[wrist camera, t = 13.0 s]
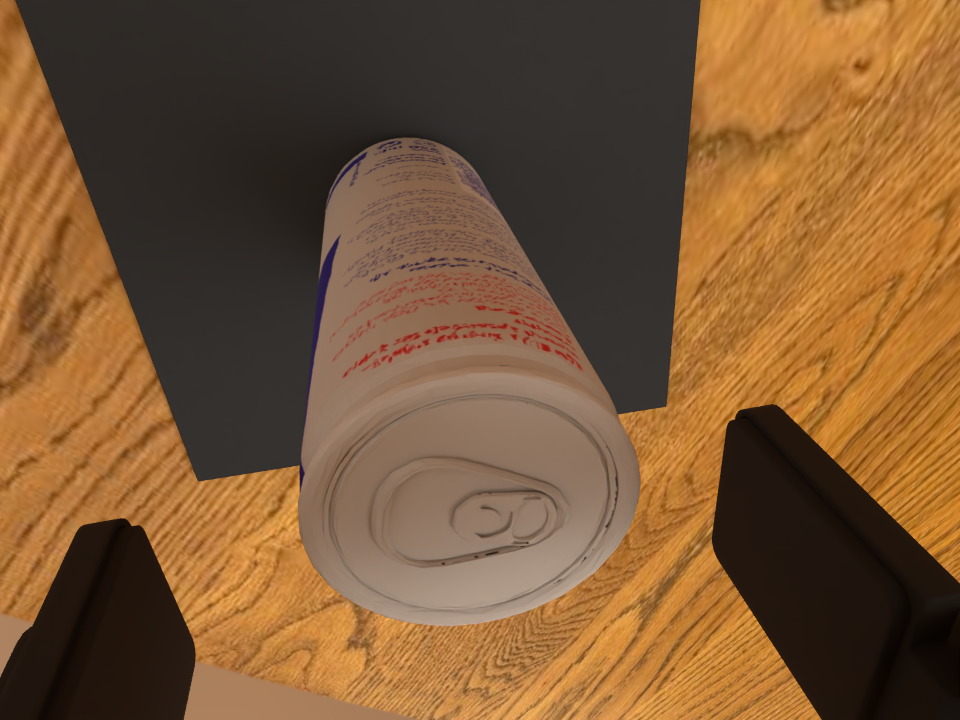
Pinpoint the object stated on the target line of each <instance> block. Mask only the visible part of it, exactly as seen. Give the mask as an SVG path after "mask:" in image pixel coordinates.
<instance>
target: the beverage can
mask: <svg viewBox="0 0 960 720" xmlns="http://www.w3.org/2000/svg"><path fill="white" fill-rule="evenodd" d="M639 491H640V472H639V464H638V460H637V456H636V452H635V449H634V447H633V445H632V443H631V441H630V439H629V437H628V435H627V433H626V431H625V429H624V427H623V426H622V424H621V423H620V420H619V417H618V414H617V412H616V409H615V406H614V404H613V402H612V400H611V398H610V396H609V394H608V392H607V390H606V389H605V387H604V385H603V384H602V382H601V380H600V379H599V377H598V375H597V374H596V372H595V370H594V369H593V367H592V365H591V364H590V362H589V360H588V359H587V357H586V355H585V354H584V352H583V350H582V348H581V347H580V345H579V343H578V342H577V340H576V338H575V337H574V335H573V333H572V332H571V330H570V328H569V327H568V325H567V323H566V322H565V320H564V318H563V317H562V315H561V313H560V311H559V310H558V308H557V306H556V305H555V303H554V301H553V300H552V298H551V296H550V295H549V293H548V291H547V290H546V288H545V286H544V285H543V283H542V281H541V280H540V278H539V276H538V275H537V273H536V271H535V269H534V268H533V266H532V264H531V263H530V261H529V259H528V258H527V256H526V254H525V253H524V251H523V249H522V248H521V246H520V244H519V243H518V241H517V239H516V238H515V236H514V234H513V233H512V231H511V229H510V227H509V226H508V224H507V222H506V221H505V219H504V217H503V216H502V214H501V212H500V211H499V209H498V207H497V206H496V204H495V202H494V201H493V199H492V197H491V196H490V194H489V192H488V191H487V189H486V187H485V185H484V184H483V182H482V180H481V179H480V177H479V175H478V174H477V173H476V171H475V170H474V169H473V167H472V166H471V165H470V164H469V163H468V162H467V161H466V160H465V159H464V158H463V157H462V156H460V155H459V154H458V153H456V152H455V151H453V150H451V149H450V148H448V147H446V146H444V145H442V144H439V143H436V142H434V141H430V140H426V139H419V138H397V139H391V140H386V141H383V142H380V143H377V144H374V145H373V146H371V147H369V148H367V149H365V150H363V151H361V152H360V153H359V154H357V155H356V156H355V157H354V158H352V159H351V160H350V161H349V162H348V163H347V164H346V165H345V166H344V167H343V169H342V170H341V171H340V173H339V174H338V176H337V177H336V179H335V181H334V182H333V184H332V187H331V189H330V192H329V194H328V199H327V203H326V208H325V224H324V234H323V244H322V253H321V263H320V273H319V283H318V293H317V303H316V312H315V322H314V332H313V342H312V352H311V362H310V371H309V381H308V391H307V401H306V411H305V421H304V430H303V440H302V450H301V460H300V496H299V501H298V516H299V532H300V535H301V539H302V542H303V545H304V548H305V550H306V552H307V554H308V557H309V559H310V561H311V563H312V565H313V567H314V568H315V569H316V570H317V572H318V573H319V574H320V575H321V576H322V577H323V579H324V580H325V581H326V582H327V583H328V584H329V585H330V586H331V587H332V588H333V589H335V590H336V591H337V592H338V593H339V594H341V595H342V596H344V597H345V598H347V599H349V600H350V601H352V602H354V603H356V604H357V605H359V606H361V607H363V608H366V609H368V610H370V611H372V612H375V613H377V614H380V615H382V616H384V617H387V618H391V619H396V620H400V621H404V622H408V623H416V624H425V625H438V626H455V625H468V624H479V623H484V622H489V621H494V620H499V619H503V618H506V617H510V616H513V615H517V614H520V613H523V612H526V611H529V610H532V609H534V608H536V607H538V606H541V605H543V604H545V603H547V602H549V601H552V600H554V599H556V598H558V597H560V596H562V595H563V594H565V593H566V592H568V591H569V590H571V589H572V588H574V587H575V586H576V585H578V584H579V583H581V582H582V581H584V580H585V579H586V578H588V577H589V576H591V575H592V574H594V573H595V572H596V570H597V569H598V568H599V567H600V566H601V565H602V564H603V563H604V562H605V561H606V560H607V559H608V557H609V556H610V555H611V554H612V553H613V552H614V551H615V549H616V548H617V547H618V546H619V544H620V542H621V541H622V539H623V538H624V536H625V534H626V533H627V531H628V529H629V527H630V525H631V523H632V520H633V518H634V515H635V511H636V507H637V503H638V498H639Z"/></svg>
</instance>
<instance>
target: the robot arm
mask: <svg viewBox="0 0 960 720" xmlns="http://www.w3.org/2000/svg"><path fill="white" fill-rule="evenodd" d="M712 544H713V549H714V552H715V555H716V557H717V559H718V561H719V562H720V564H721V565H722V567H723V568H724V570H725V571H726V573H727V574H728V576H729V578H730V579H731V581H732V582H733V584H734V585H735V587H736V588H737V590H738V591H739V593H740V594H741V596H742V598H743V599H744V601H745V602H746V604H747V605H748V607H749V608H750V610H751V611H752V613H753V614H754V616H755V618H756V619H757V621H758V622H759V624H760V625H761V627H762V628H763V630H764V631H765V633H766V635H767V636H768V638H769V639H770V641H771V642H772V644H773V645H774V647H775V648H776V650H777V651H778V653H779V655H780V656H781V658H782V659H783V661H784V662H785V664H786V665H787V667H788V668H789V670H790V671H791V673H792V675H793V676H794V678H795V679H796V681H797V682H798V684H799V685H800V687H801V688H802V690H803V692H804V693H805V695H806V696H807V698H808V699H809V701H810V702H811V704H812V705H813V707H814V708H815V710H816V712H817V713H818V715H819V716H820V718H821V719H822V720H960V583H959V582H958V581H957V580H956V579H955V578H954V577H953V576H952V575H951V574H950V573H949V572H948V571H947V570H946V569H944V568H943V567H942V566H941V565H940V564H939V563H938V562H937V561H936V560H935V559H934V558H933V557H932V556H931V555H930V554H929V553H928V552H927V551H926V550H925V549H924V548H923V547H922V546H921V545H920V544H919V543H918V542H917V541H916V540H915V539H914V538H913V537H912V536H911V535H910V534H909V533H908V532H907V531H906V530H905V529H904V528H903V527H902V526H901V525H900V524H899V523H898V522H897V521H895V520H894V519H893V518H892V517H891V516H890V515H889V514H888V513H887V512H886V511H885V510H884V509H883V508H882V507H881V506H880V505H879V504H878V503H877V502H876V501H875V500H874V499H873V498H872V497H871V496H870V495H869V494H868V493H867V492H866V491H865V490H864V489H863V488H862V487H861V486H860V485H859V484H858V483H857V482H856V481H855V480H854V479H853V478H852V477H851V476H850V475H849V474H848V473H847V472H845V471H844V470H843V469H842V468H841V467H840V466H839V465H838V464H837V463H836V462H835V461H834V460H833V459H832V458H831V457H830V456H829V455H828V454H827V453H826V452H825V451H824V450H823V449H822V448H821V447H820V446H819V445H818V444H817V443H816V442H815V441H814V440H813V439H812V438H811V437H810V436H809V435H808V434H807V433H806V432H805V431H804V430H803V429H802V428H801V427H800V426H799V425H798V424H797V423H795V422H794V421H793V420H792V419H791V418H790V417H789V416H788V415H787V414H786V413H785V412H784V411H783V410H782V409H781V408H780V407H778V406H777V405H773V404H771V405H765V406H760V407H754V408H748V409H742V410H740V411H738V413H737V414H736V417H735V420H731V421H729V423H728V425H727V429H726V436H725V444H724V451H723V459H722V466H721V474H720V481H719V488H718V496H717V503H716V511H715V518H714V526H713V533H712ZM194 667H195V646H194V641H193V638H192V636H191V634H190V632H189V630H188V627H187V625H186V623H185V621H184V618H183V616H182V614H181V612H180V609H179V607H178V605H177V603H176V600H175V598H174V596H173V594H172V591H171V589H170V587H169V585H168V582H167V580H166V578H165V576H164V573H163V571H162V569H161V567H160V564H159V562H158V560H157V558H156V555H155V553H154V551H153V549H152V546H151V544H150V542H149V540H148V538H147V535H146V533H145V531H144V529H143V528H142V527H141V526H139V525H137V526H131V524H130V523H129V521H127V520H126V519H124V518H120V519H114V520H109V521H103V522H97V523H91V524H86V525H83V526H81V527H80V528H79V529H78V531H77V532H76V534H75V536H74V538H73V541H72V543H71V545H70V547H69V549H68V551H67V553H66V556H65V558H64V560H63V562H62V564H61V566H60V568H59V570H58V573H57V575H56V577H55V579H54V581H53V583H52V585H51V588H50V590H49V592H48V594H47V596H46V598H45V600H44V602H43V605H42V607H41V609H40V611H39V613H38V615H37V617H36V620H35V622H34V624H33V626H32V627H30V628H29V629H28V630H26V631H25V632H24V633H23V634H22V636H21V638H20V639H19V640H18V642H17V644H16V646H15V648H14V650H13V652H12V654H11V656H10V658H9V660H8V662H7V664H6V667H5V668H4V671H3V673H2V675H1V677H0V720H184V715H185V710H186V705H187V701H188V695H189V691H190V686H191V681H192V676H193V672H194Z"/></svg>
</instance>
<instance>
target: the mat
mask: <svg viewBox="0 0 960 720" xmlns="http://www.w3.org/2000/svg"><path fill="white" fill-rule="evenodd" d="M700 1H701V0H16V3H17V5H18V8H19V11H20V13H21V16H22V19H23V21H24V24H25V27H26V29H27V32H28V34H29V37H30V40H31V42H32V45H33V48H34V50H35V53H36V56H37V58H38V61H39V63H40V66H41V69H42V71H43V74H44V77H45V79H46V82H47V85H48V87H49V90H50V92H51V95H52V98H53V100H54V103H55V106H56V108H57V111H58V114H59V116H60V119H61V121H62V124H63V127H64V129H65V132H66V135H67V137H68V140H69V143H70V145H71V148H72V150H73V153H74V156H75V158H76V161H77V164H78V166H79V169H80V172H81V174H82V177H83V179H84V182H85V185H86V187H87V190H88V193H89V195H90V198H91V201H92V203H93V206H94V208H95V211H96V214H97V216H98V219H99V222H100V224H101V227H102V230H103V232H104V235H105V237H106V240H107V243H108V245H109V248H110V251H111V253H112V256H113V259H114V261H115V264H116V266H117V269H118V272H119V274H120V277H121V280H122V282H123V285H124V288H125V290H126V293H127V295H128V298H129V301H130V303H131V306H132V309H133V311H134V314H135V316H136V319H137V322H138V324H139V327H140V330H141V332H142V335H143V338H144V340H145V343H146V345H147V348H148V351H149V353H150V356H151V359H152V361H153V364H154V367H155V369H156V372H157V374H158V377H159V380H160V382H161V385H162V388H163V390H164V393H165V396H166V398H167V401H168V403H169V406H170V409H171V411H172V414H173V417H174V419H175V422H176V425H177V427H178V430H179V432H180V435H181V438H182V440H183V443H184V446H185V448H186V451H187V454H188V456H189V459H190V461H191V464H192V467H193V469H194V472H195V475H196V477H197V480H198V481H204V480H211V479H217V478H223V477H229V476H236V475H242V474H248V473H254V472H261V471H267V470H273V469H279V468H286V467H292V466H298V465H300V460H301V450H302V440H303V430H304V421H305V411H306V401H307V391H308V381H309V371H310V362H311V352H312V342H313V332H314V322H315V312H316V303H317V293H318V283H319V273H320V263H321V253H322V244H323V234H324V224H325V208H326V203H327V199H328V194H329V192H330V189H331V187H332V184H333V182H334V181H335V179H336V177H337V176H338V174H339V173H340V171H341V170H342V169H343V167H344V166H345V165H346V164H347V163H348V162H349V161H350V160H351V159H352V158H354V157H355V156H356V155H357V154H359V153H360V152H361V151H363V150H365V149H367V148H369V147H371V146H373V145H374V144H377V143H380V142H383V141H386V140H391V139H397V138H419V139H426V140H430V141H434V142H436V143H439V144H442V145H444V146H446V147H448V148H450V149H451V150H453V151H455V152H456V153H458V154H459V155H460V156H462V157H463V158H464V159H465V160H466V161H467V162H468V163H469V164H470V165H471V166H472V167H473V169H474V170H475V171H476V173H477V174H478V175H479V177H480V179H481V180H482V182H483V184H484V185H485V187H486V189H487V191H488V192H489V194H490V196H491V197H492V199H493V201H494V202H495V204H496V206H497V207H498V209H499V211H500V212H501V214H502V216H503V217H504V219H505V221H506V222H507V224H508V226H509V227H510V229H511V231H512V233H513V234H514V236H515V238H516V239H517V241H518V243H519V244H520V246H521V248H522V249H523V251H524V253H525V254H526V256H527V258H528V259H529V261H530V263H531V264H532V266H533V268H534V269H535V271H536V273H537V275H538V276H539V278H540V280H541V281H542V283H543V285H544V286H545V288H546V290H547V291H548V293H549V295H550V296H551V298H552V300H553V301H554V303H555V305H556V306H557V308H558V310H559V311H560V313H561V315H562V317H563V318H564V320H565V322H566V323H567V325H568V327H569V328H570V330H571V332H572V333H573V335H574V337H575V338H576V340H577V342H578V343H579V345H580V347H581V348H582V350H583V352H584V354H585V355H586V357H587V359H588V360H589V362H590V364H591V365H592V367H593V369H594V370H595V372H596V374H597V375H598V377H599V379H600V380H601V382H602V384H603V385H604V387H605V389H606V390H607V392H608V394H609V396H610V398H611V400H612V402H613V404H614V406H615V409H616V412H617V414H623V413H629V412H636V411H642V410H648V409H654V408H661V407H666V404H667V392H668V381H669V369H670V357H671V345H672V333H673V321H674V309H675V297H676V286H677V274H678V262H679V250H680V238H681V226H682V214H683V203H684V191H685V179H686V167H687V155H688V143H689V131H690V119H691V108H692V96H693V84H694V72H695V60H696V48H697V36H698V24H699V13H700Z"/></svg>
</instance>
